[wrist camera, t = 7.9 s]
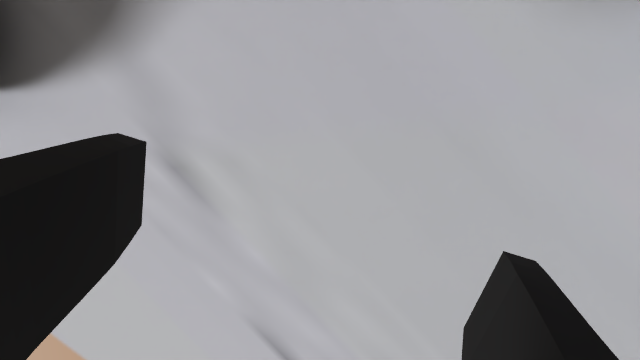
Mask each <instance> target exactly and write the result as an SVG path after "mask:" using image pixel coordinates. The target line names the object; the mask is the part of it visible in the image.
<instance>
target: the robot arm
mask: <svg viewBox="0 0 640 360" xmlns="http://www.w3.org/2000/svg"><path fill="white" fill-rule="evenodd" d="M145 156H146V142H145V141H142V140H138V139H135V138H132V137H129V136H125V135H122V134H119V133H116V134H108V135H102V136H97V137H92V138H88V139H83V140H79V141H75V142H70V143H66V144H62V145H58V146H54V147H50V148H45V149H41V150H37V151H33V152H29V153H25V154H20V155H16V156H12V157H8V158H3V159H0V360H26V359H27V358H28V357H29V356H30V355H31V353H32V352H33V351H34V350H35V349H36V348H37V347H38V346H39V344H40V343H41V342H42V341H43V340H44V339H45V338H46V337H47V336H48V335H49V334H50V333H51V332H52V331H53V330H54V328H55V327H56V326H57V325H58V324H59V323H60V322H61V321H62V320H63V319H64V318H65V317H66V316H67V315H68V314H69V312H70V311H71V310H72V309H73V308H74V307H75V306H76V305H77V304H78V303H79V302H80V301H81V300H82V299H83V298H84V296H85V295H86V294H87V293H88V292H89V291H90V290H91V289H92V288H93V287H94V286H95V285H96V284H97V282H98V281H99V280H100V279H101V278H102V277H103V276H104V275H105V274H106V273H107V272H108V270H109V269H110V268H111V267H112V266H113V265H114V264H115V262H116V261H117V260H118V258H119V257H120V256H121V254H122V253H123V251H124V250H125V249H126V247H127V246H128V244H129V243H130V241H131V240H132V238H133V237H134V235H135V234H136V232H137V231H138V229H139V228H140V227H141V224H142V207H143V190H144V173H145ZM462 360H619V359H618V358H617V357H616V356H615V355H614V353H613V352H612V351H611V350H610V349H609V348H608V346H607V345H606V344H605V343H604V342H603V341H602V339H601V338H600V337H599V336H598V335H597V333H596V332H595V331H594V330H593V329H592V327H591V326H590V325H589V324H588V323H587V321H586V320H585V319H584V318H583V316H582V315H581V314H580V313H579V312H578V310H577V309H576V308H575V307H574V305H573V304H572V303H571V302H570V300H569V299H568V298H567V297H566V296H565V294H564V293H563V292H562V291H561V289H560V288H559V287H558V286H557V285H556V283H555V282H554V281H553V280H552V279H551V277H550V276H549V275H548V274H547V273H546V272H545V271H544V269H543V268H542V267H541V266H540V265H539V264H538V263H537V262H536V261H534V260H530V259H527V258H524V257H521V256H517V255H514V254H511V253H507V252H504V251H503V253H502V255H501V257H500V259H499V261H498V263H497V265H496V267H495V269H494V270H493V272H492V274H491V276H490V278H489V280H488V282H487V284H486V286H485V288H484V290H483V292H482V294H481V296H480V297H479V299H478V301H477V303H476V305H475V307H474V309H473V311H472V313H471V315H470V317H469V319H468V321H467V323H466V324H465V326H464V332H463V347H462Z"/></svg>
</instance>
